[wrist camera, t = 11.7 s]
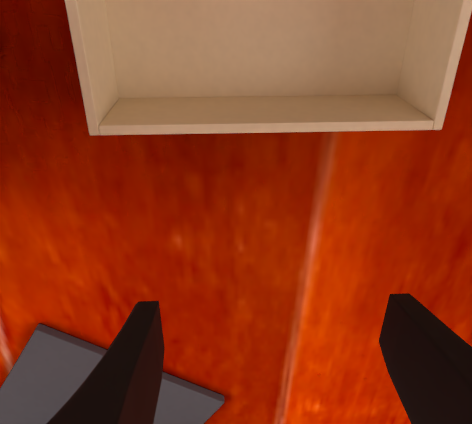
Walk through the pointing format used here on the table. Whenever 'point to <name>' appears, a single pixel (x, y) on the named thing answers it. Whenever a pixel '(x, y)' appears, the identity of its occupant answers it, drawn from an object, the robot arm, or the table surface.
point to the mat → (74, 374)
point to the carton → (266, 64)
